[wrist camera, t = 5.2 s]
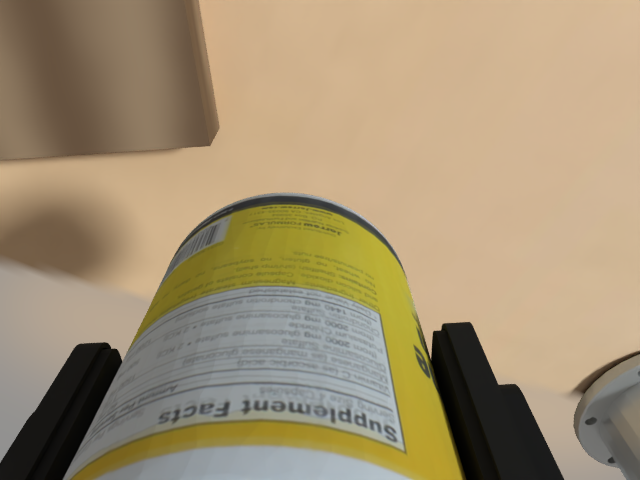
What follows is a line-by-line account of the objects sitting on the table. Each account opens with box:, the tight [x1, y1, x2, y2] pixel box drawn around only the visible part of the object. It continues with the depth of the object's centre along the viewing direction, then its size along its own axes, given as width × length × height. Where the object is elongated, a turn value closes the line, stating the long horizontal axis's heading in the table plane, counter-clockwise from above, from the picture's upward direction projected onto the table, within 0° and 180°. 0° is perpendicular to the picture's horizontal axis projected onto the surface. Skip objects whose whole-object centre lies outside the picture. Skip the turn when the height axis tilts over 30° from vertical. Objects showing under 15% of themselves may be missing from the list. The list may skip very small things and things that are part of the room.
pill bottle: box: [63, 193, 466, 480], centre depth 9 cm, size 6×6×12 cm
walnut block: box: [0, 0, 219, 160], centre depth 23 cm, size 12×12×3 cm
